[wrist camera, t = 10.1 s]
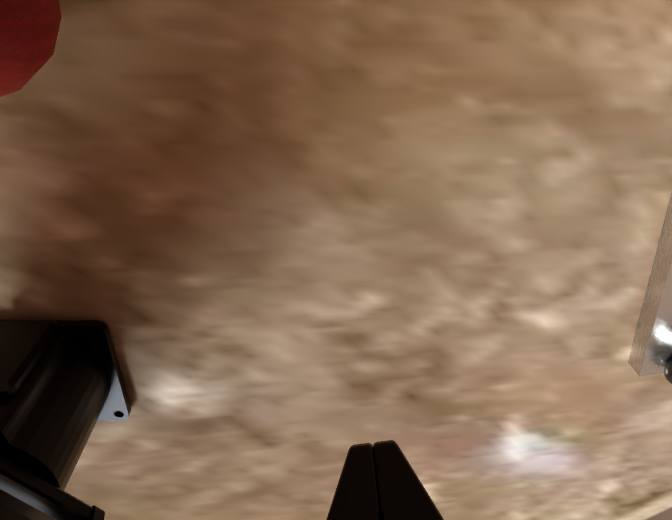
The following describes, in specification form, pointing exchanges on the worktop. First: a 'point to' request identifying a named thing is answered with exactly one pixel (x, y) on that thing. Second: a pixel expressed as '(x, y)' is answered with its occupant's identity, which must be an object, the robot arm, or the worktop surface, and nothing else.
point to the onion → (26, 39)
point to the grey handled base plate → (657, 313)
